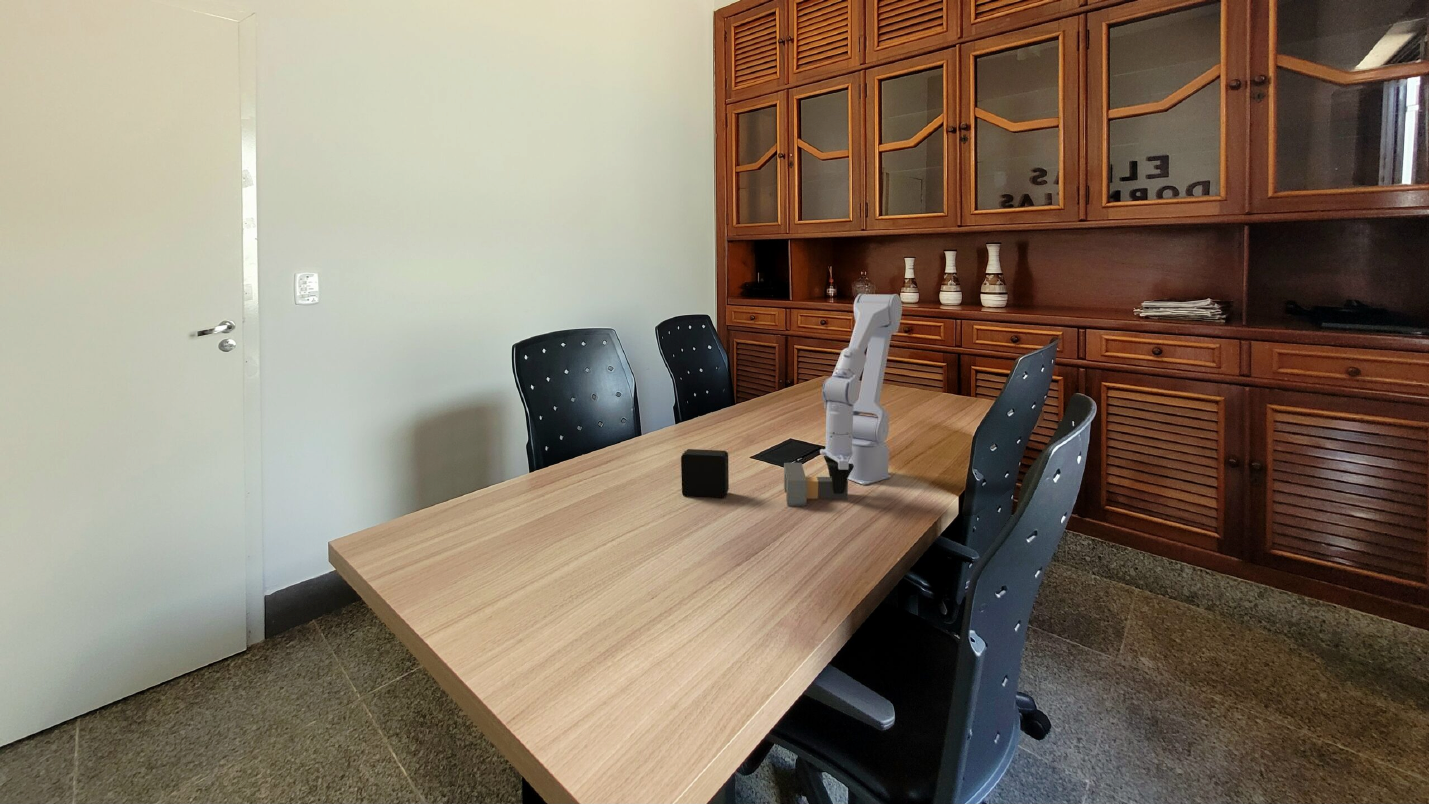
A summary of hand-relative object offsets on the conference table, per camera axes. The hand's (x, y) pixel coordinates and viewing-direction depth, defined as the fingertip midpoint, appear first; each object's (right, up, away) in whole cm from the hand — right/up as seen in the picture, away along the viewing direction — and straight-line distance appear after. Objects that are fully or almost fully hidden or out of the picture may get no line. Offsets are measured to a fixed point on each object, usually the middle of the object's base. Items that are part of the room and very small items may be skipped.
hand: (837, 490), depth 136 cm
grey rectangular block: (-9, -1, +1) cm, 10 cm away
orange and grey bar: (-5, -1, +1) cm, 5 cm away
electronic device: (-30, -2, +3) cm, 30 cm away
